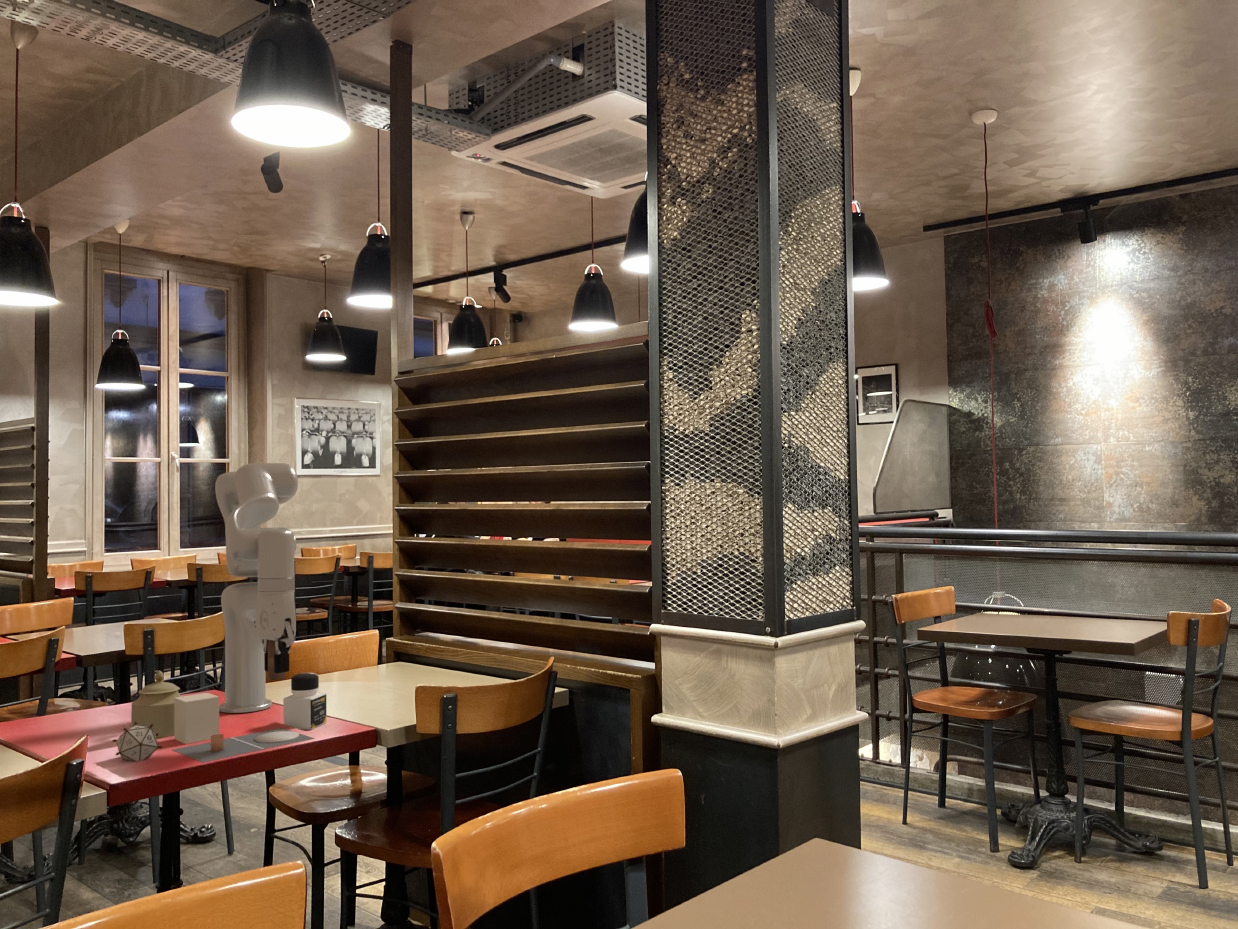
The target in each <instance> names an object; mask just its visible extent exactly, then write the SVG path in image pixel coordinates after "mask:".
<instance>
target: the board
mask: <svg viewBox="0 0 1238 929" xmlns="http://www.w3.org/2000/svg"><path fill="white" fill-rule="evenodd" d="M314 739H316V738H315V737H311V736H309V735H305V734H301V733H299V732H297V731H293V730H290V729H286V728H283V727H280V728H279V727H278V728H274V729H273V728H272V729H269V730H267V729H266V730H263V731H258V732H253V733H248V734H244V735H238V736H234V737H233V736H231V737H229V738H224V734H222V733H219V734H215V735H212V736H211V739H210V741H209V742H204V743H198V744H193V745H188V746H183V747H179V748H173V749H172V751H173V752H175V753H178V754H180V755H182V756H184V757H187V758H190V759H192V760H195V761H197V762H200V763H209V762H213V761H217V760H221V759H226V758H227V759H228V758H230V757H231V758H232V757H235V756H240V755H244V754H250V753H255V752H260V751H265V750H269V749H274V748H277V747H282V746H287V745H292V744H296V743H300V742H305V741H311V740H314Z"/></svg>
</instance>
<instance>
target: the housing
mask: <svg viewBox="0 0 1238 929" xmlns="http://www.w3.org/2000/svg"><path fill="white" fill-rule="evenodd" d="M182 696H183V697H176V698H174V736H173V738H174V740H176V741H178V742H180V743H182V744H185V745H189V744H194V743H198V742H200V743H201V742H205V741H209V740H210V741H211V736H212V735H215V734H220V711H219V705H220V696H217V695H215V694H212V693H209V692H202V693H196V694H191V695H182Z"/></svg>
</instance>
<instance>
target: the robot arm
mask: <svg viewBox="0 0 1238 929" xmlns="http://www.w3.org/2000/svg"><path fill="white" fill-rule="evenodd" d="M298 478H299V477H298V474H297V471H296V469H295V467H293V466H292V465H291V464H289V463H284V462H283V463H282V462H279V463H278V462H275V463H274V462H271V463H270V462H268V463H267V462H254V463H253V462H252V463H247V464H244V465H241V466H240V467H239V468H238V469H237V470H236V471H229V472H224V473H222V474H220V475H218V477H217V478H216V480H215V484H214V486H215V487H214V488H215V490H214V491H215V497H216V502H217V505H218V508H219V510H220V513H221V516H222V517H223V521H224V526H225V529H224V530H225V531H224V532H225V535H224V536H225V556H226V558H225V559H226V568H227V569H226V570H227V571H228V573H229V574H230V575H231V577H235V578H257V581H254V582H253V581H252V582H239V583H234V584H231V585H228V586H227V587H225V588H224V589H223V591H222V592H221V596H220V604H221V611H222V616H223V617H222V618H223V623H224V661H225V663H224V664H225V666H224V670H225V673H224V676H225V678H224V680H225V681H224V682H225V684H224V688H225V691H224V693H223V695H224V697H225V699H224V700H225V701H224V702H223V703H219V712H222V713H225V714H227V713H228V714H241V713H252V712H259V711H262V710H267V709H269V708H271V707H272V706H273V701H272V699H269V698H267V697H266V694H267V691H266V690H267V689H266V687H267V686H266V684H267V683H266V681H267V680H266V675H267V674H266V672H268V640H272V641H275V648H276V654H275V655H274V673H283V672H286V673H288V672H289V671H290V653H291V647H292V645H293V644H294V643H295V641H296V640H295V636H296V632H297V618H296V614H297V613H296V603H295V592H296V590H295V584H296V583H295V578H296V577H295V574H296V573H295V553H296V550H297V538H296V534H295V533H294V532H293V531H292V530H291V529H290V528H289V527H288V528H287V527H262V525H263V524H266V523H267V522H269V521H271V520H273V518H275V516H276V515H277V514H278V512H279V509H280V508H279V507H280V504H285V503H287V502H288V501H290V500H291V499H292V498H293V497H294V496H295V495H296V494H297V492H298V488H299V479H298ZM282 636H285V639H279V638H281V637H282ZM284 641H285V642H284ZM280 642H282V644H281V646H280Z"/></svg>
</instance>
